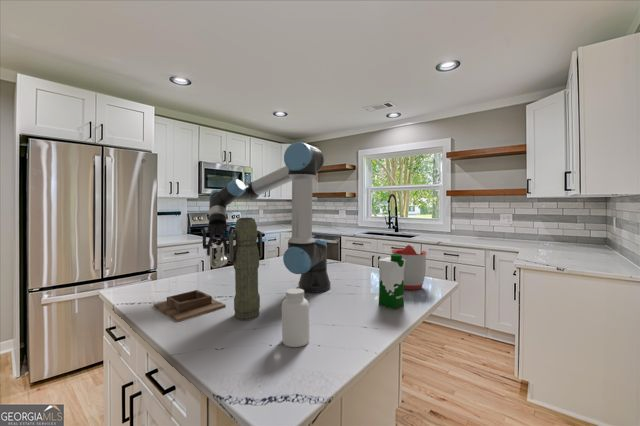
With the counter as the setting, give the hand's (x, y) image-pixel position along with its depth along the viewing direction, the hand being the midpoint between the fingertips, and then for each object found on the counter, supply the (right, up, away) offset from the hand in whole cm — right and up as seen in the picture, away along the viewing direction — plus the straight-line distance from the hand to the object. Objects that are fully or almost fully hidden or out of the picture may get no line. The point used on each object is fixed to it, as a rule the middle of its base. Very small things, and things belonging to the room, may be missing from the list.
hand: (217, 261), depth 119 cm
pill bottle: (+35, -18, -34) cm, 52 cm away
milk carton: (+70, -17, -5) cm, 72 cm away
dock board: (-9, -17, -6) cm, 20 cm away
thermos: (+16, -17, -14) cm, 28 cm away
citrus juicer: (+85, -16, +20) cm, 88 cm away
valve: (0, -3, +4) cm, 5 cm away
